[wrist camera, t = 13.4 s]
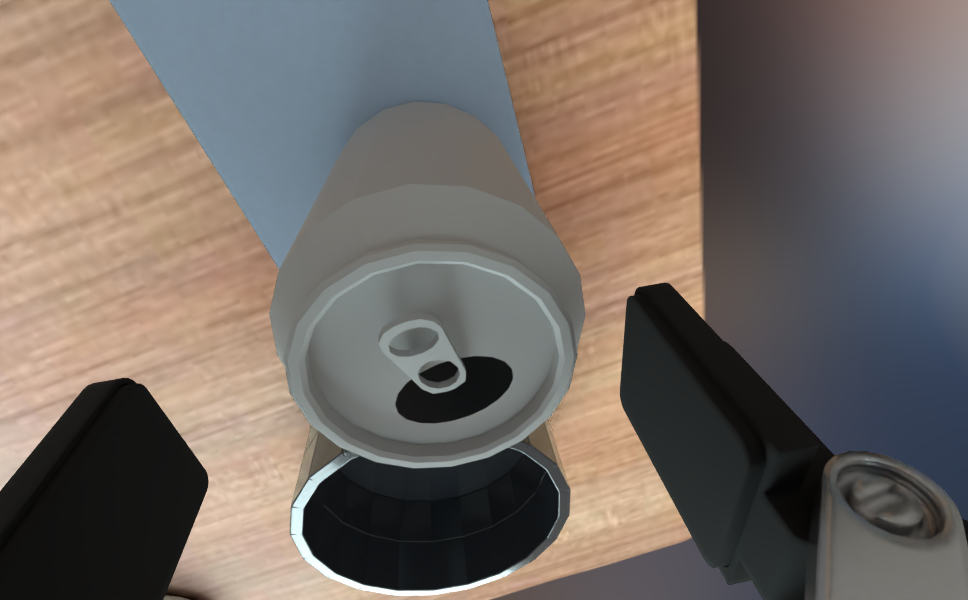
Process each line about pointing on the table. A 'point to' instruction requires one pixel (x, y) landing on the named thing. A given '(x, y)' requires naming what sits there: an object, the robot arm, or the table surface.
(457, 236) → the can
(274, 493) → the table surface
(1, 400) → the table surface
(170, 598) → the donut
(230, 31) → the cloth
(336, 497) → the pot
